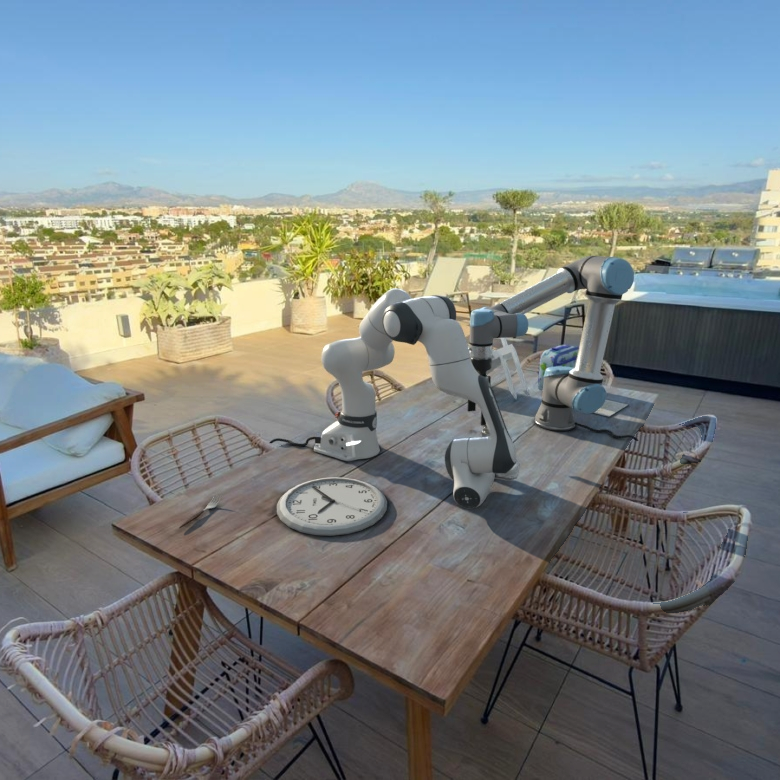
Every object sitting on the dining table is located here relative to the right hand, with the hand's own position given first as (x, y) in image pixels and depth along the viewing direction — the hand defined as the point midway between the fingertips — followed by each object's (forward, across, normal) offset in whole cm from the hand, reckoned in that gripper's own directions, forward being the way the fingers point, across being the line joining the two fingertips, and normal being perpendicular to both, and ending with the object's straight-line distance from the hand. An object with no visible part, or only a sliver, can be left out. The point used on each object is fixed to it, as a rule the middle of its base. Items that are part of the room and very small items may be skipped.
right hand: (477, 417), depth 178 cm
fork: (+8, +31, -87) cm, 93 cm away
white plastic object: (+12, -61, +23) cm, 67 cm away
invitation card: (+14, -35, +69) cm, 78 cm away
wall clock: (+10, +32, -52) cm, 62 cm away
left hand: (+5, +19, -3) cm, 20 cm away
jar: (+11, +20, -3) cm, 23 cm away
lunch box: (+14, -61, +62) cm, 88 cm away
